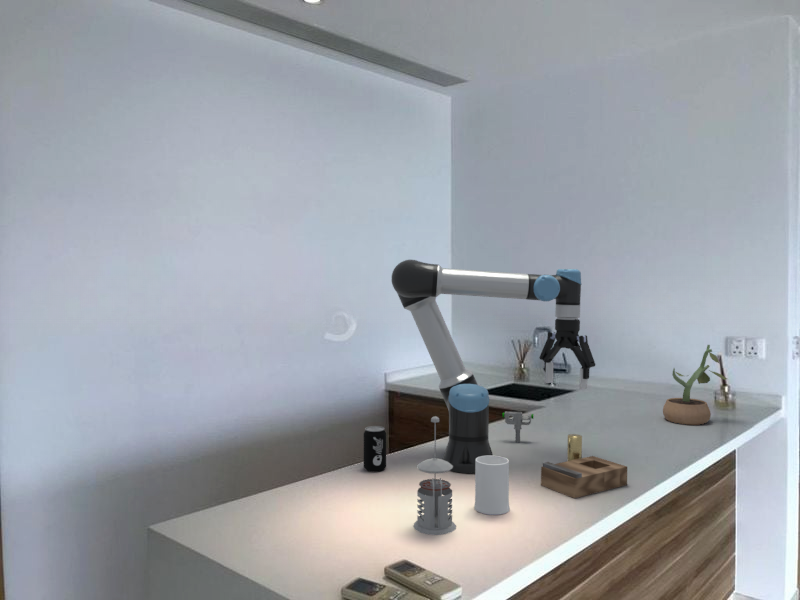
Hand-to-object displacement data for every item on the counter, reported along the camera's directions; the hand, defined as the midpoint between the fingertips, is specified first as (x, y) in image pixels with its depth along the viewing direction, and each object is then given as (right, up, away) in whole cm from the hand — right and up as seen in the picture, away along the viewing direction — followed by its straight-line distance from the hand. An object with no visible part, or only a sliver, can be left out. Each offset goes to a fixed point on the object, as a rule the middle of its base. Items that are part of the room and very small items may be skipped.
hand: (565, 386), depth 204 cm
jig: (-2, -23, -29) cm, 37 cm away
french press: (-44, -24, -58) cm, 77 cm away
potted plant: (+61, -20, +46) cm, 79 cm away
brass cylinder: (-1, -22, -15) cm, 27 cm away
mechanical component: (-12, -21, +16) cm, 29 cm away
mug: (-29, -24, -45) cm, 58 cm away
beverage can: (-59, -23, -15) cm, 65 cm away
